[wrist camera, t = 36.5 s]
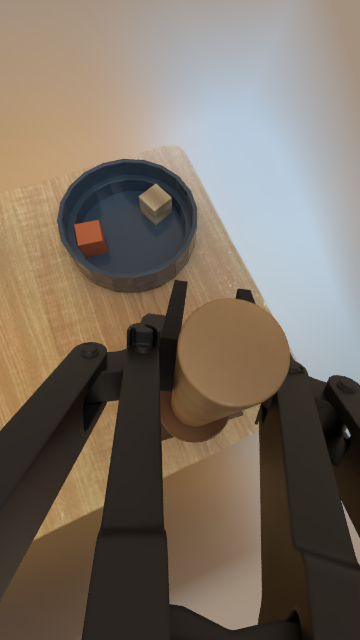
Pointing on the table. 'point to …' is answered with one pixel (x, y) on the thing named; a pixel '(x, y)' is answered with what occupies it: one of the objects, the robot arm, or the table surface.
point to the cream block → (155, 204)
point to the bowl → (129, 225)
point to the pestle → (223, 367)
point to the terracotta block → (91, 238)
